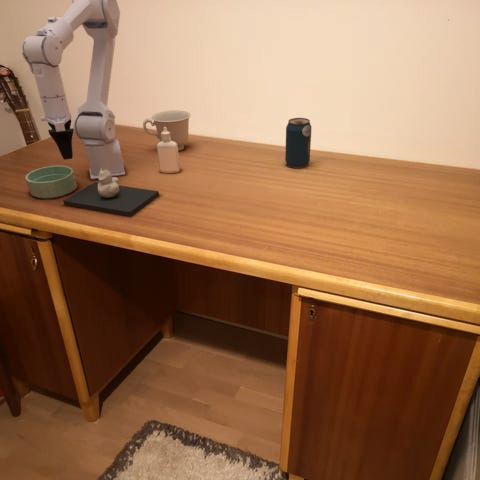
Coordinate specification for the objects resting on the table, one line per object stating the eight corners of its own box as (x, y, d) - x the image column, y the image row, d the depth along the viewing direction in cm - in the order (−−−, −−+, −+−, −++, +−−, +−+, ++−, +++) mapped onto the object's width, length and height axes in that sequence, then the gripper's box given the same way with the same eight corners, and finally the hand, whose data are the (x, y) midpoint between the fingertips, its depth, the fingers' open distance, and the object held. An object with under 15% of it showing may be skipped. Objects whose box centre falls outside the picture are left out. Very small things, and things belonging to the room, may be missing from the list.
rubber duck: (93, 198, 116) (86, 167, 111) (111, 189, 120) (104, 158, 115) (110, 202, 114) (103, 170, 109) (127, 192, 118) (121, 161, 113)
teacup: (144, 146, 151) (139, 114, 144) (189, 140, 154) (186, 108, 147) (150, 158, 141) (144, 124, 135) (197, 151, 145) (194, 118, 138)
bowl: (76, 178, 130) (72, 163, 127) (78, 194, 121) (74, 178, 118) (31, 185, 127) (26, 169, 125) (30, 202, 118) (24, 185, 116)
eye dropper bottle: (172, 175, 130) (166, 131, 122) (158, 171, 132) (151, 127, 125) (182, 170, 132) (177, 126, 125) (168, 166, 135) (162, 123, 128)
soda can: (313, 166, 131) (316, 122, 124) (291, 170, 129) (293, 125, 122) (302, 158, 136) (304, 115, 129) (281, 162, 134) (281, 119, 127)
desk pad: (159, 195, 119) (158, 191, 118) (130, 216, 110) (129, 212, 109) (96, 185, 126) (95, 181, 125) (64, 205, 116) (62, 200, 116)
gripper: (34, 91, 113) (50, 148, 121) (34, 103, 102) (51, 165, 110) (64, 88, 115) (77, 144, 123) (67, 100, 104) (81, 161, 112)
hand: (67, 154), depth 117 cm, fingers open, 7 cm apart
